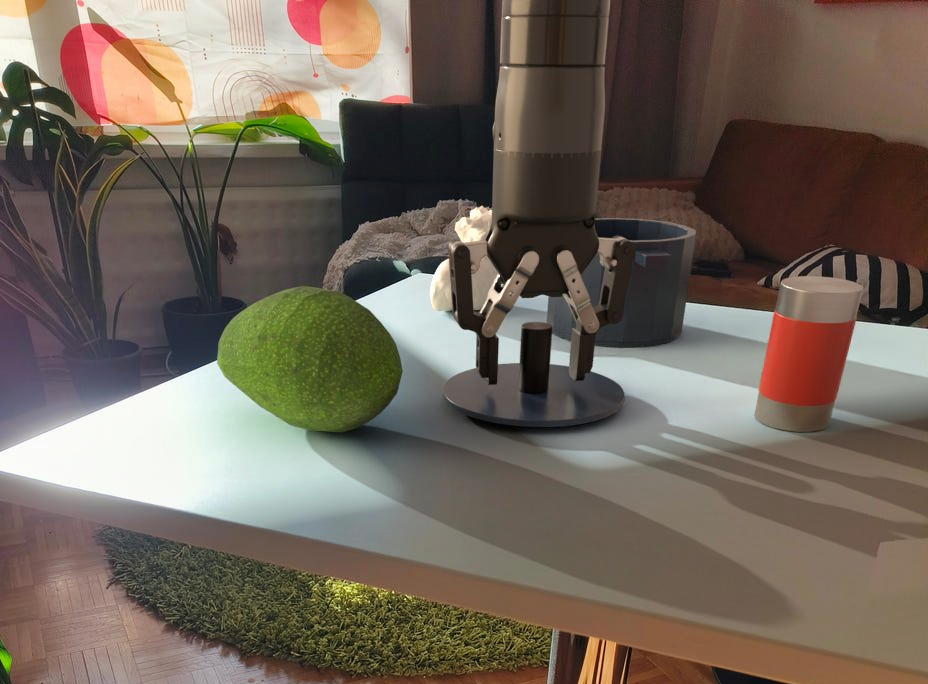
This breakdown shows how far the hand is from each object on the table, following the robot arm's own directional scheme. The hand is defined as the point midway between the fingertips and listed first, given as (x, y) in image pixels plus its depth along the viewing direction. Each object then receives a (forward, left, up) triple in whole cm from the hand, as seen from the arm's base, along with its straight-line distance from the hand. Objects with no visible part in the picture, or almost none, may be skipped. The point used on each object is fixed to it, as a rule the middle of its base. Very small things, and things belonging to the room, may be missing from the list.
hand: (533, 379), depth 71 cm
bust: (-1, -32, -2) cm, 32 cm away
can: (-19, +7, -2) cm, 20 cm away
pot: (-14, -21, -2) cm, 25 cm away
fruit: (+18, +2, -2) cm, 18 cm away
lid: (0, 0, -1) cm, 1 cm away
